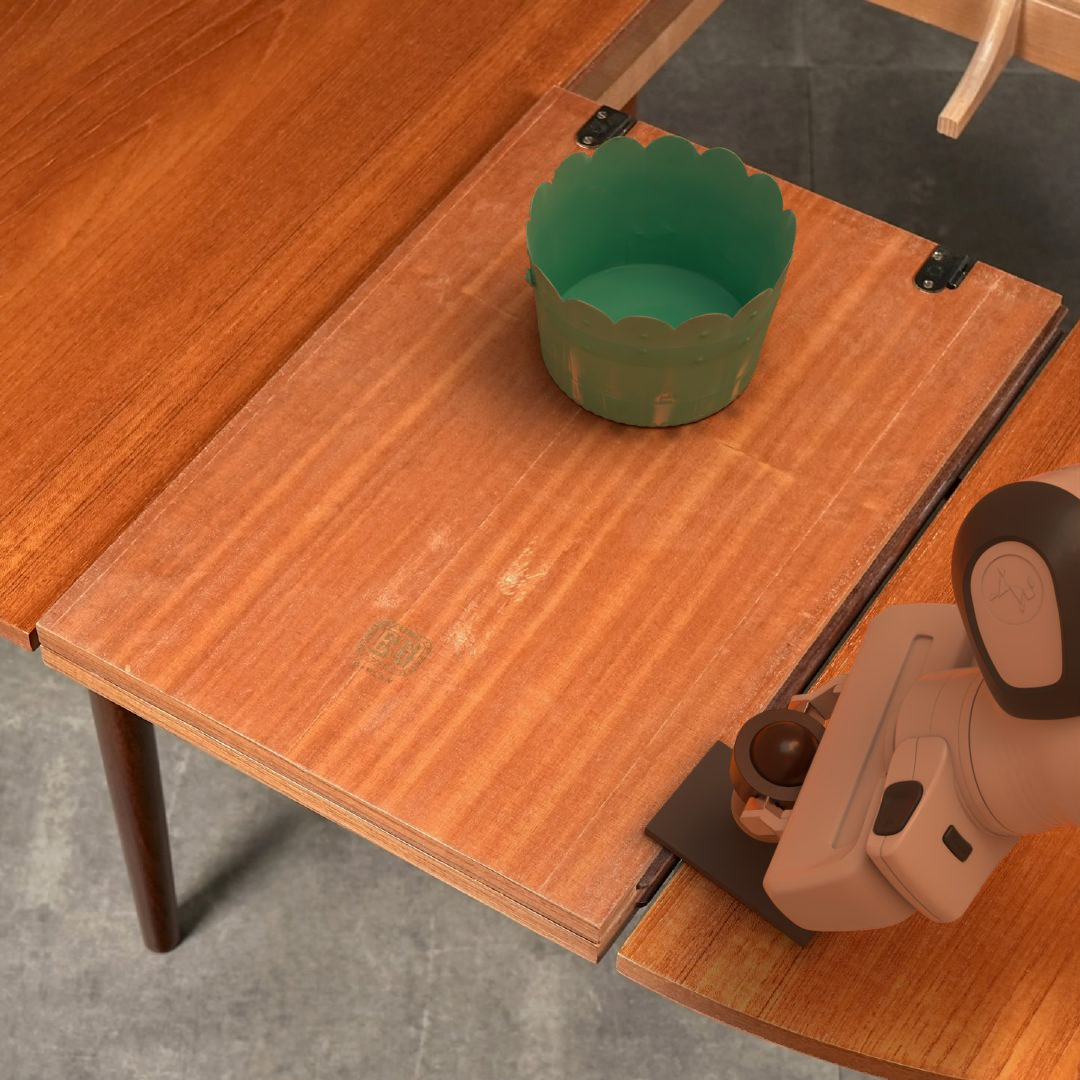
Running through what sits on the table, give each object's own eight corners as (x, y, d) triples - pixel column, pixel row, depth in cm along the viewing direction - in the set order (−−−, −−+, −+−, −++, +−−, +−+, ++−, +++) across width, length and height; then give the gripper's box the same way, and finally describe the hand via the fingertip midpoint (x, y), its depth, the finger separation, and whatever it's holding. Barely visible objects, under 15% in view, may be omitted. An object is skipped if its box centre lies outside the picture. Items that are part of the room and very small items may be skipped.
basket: (523, 435, 124) (525, 315, 114) (522, 254, 135) (525, 129, 124) (783, 437, 125) (810, 318, 114) (762, 257, 135) (785, 133, 125)
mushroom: (808, 758, 105) (830, 690, 98) (829, 847, 102) (853, 783, 95) (713, 767, 105) (728, 699, 98) (730, 857, 101) (747, 793, 94)
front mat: (874, 852, 106) (876, 847, 105) (803, 948, 102) (805, 943, 102) (716, 744, 110) (718, 738, 109) (643, 832, 106) (644, 827, 106)
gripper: (995, 563, 93) (801, 595, 103) (878, 880, 82) (674, 880, 93) (1053, 635, 96) (858, 659, 106) (946, 951, 85) (741, 943, 95)
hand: (771, 764), depth 99 cm, fingers closed on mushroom, 6 cm apart
